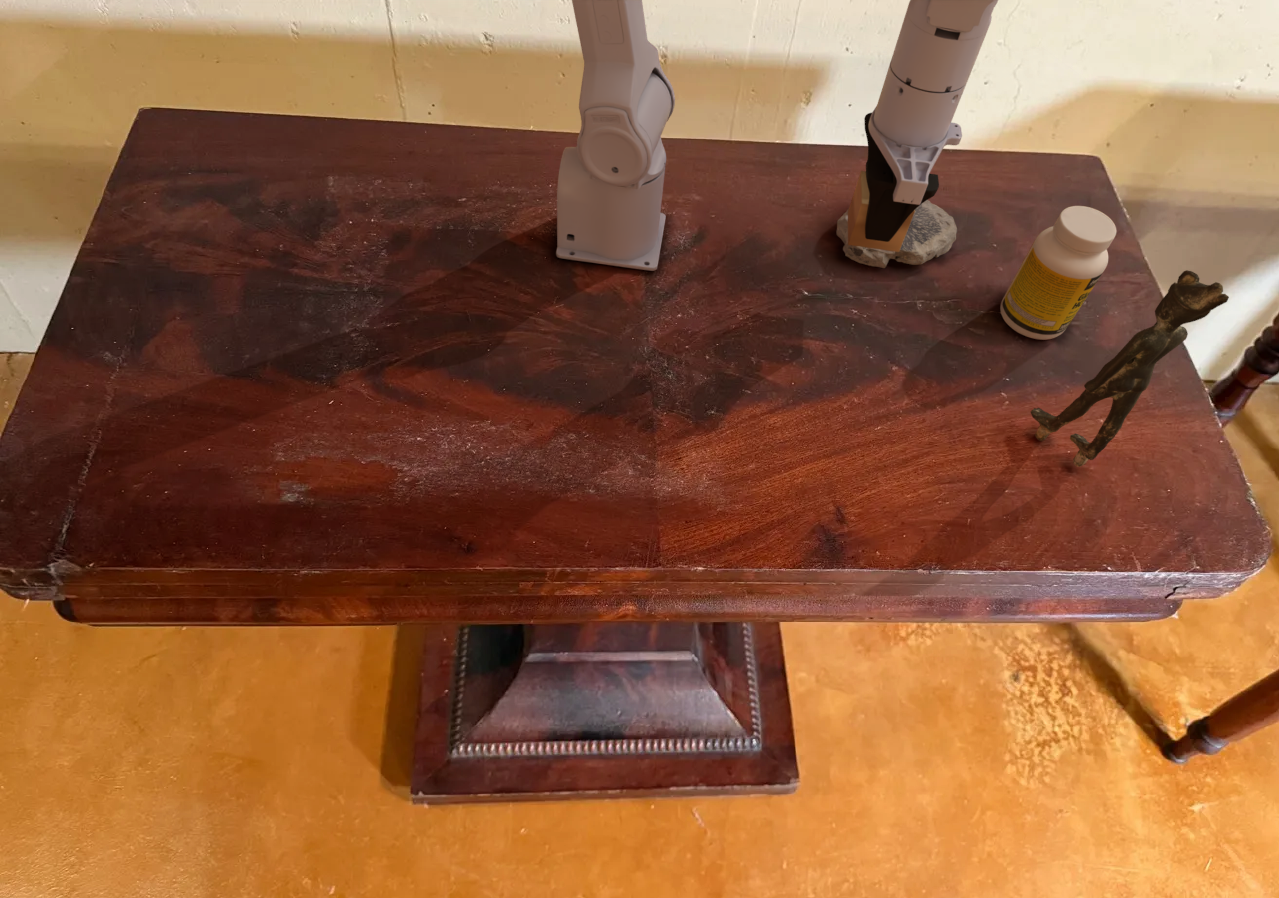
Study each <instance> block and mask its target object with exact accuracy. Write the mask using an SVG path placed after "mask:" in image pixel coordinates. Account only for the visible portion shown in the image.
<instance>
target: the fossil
mask: <svg viewBox="0 0 1279 898" xmlns="http://www.w3.org/2000/svg"><path fill="white" fill-rule="evenodd" d="M848 210H849V207H848V208H847V210H846V211H845V212H844V213H843V215H842V216H840V217H839V218H838V219H837V221H836V236H837V237H838V238H839V239H840V240H841V242H843V244H844V245H843V247H842V251H843V252H844V254H845V257H847V258H849V259H850V260H852V261H855V262H857V263H858V264H861V265H862V264H863V265H866V266H870V267H877V268H882V269H885V268H886V267H887V265H888V263H889V261H890V260H895V261H896V262H897V263H903V264H907V265H908V264H909V265H913V266H918V265H923V264H925V263H926V262H928V261H930V260H932V259H933V258H939V257H940V256H943V255H945V254H946V253H948V252H949V251H950V249H951V248H952V247H953V243H955V242H956V240H957V233H958V228H957V225H956V222H955V219H954V217H953V216H952V215H949V213H948V212H947V211H945V209H943V208H941V207H940V206H938V205H937V204H934V203H932V202H931V201H930V200H929V199H928V200H926V201H925V202H923V203H922V204H921V205H920V206H918V207H917V208H916V209H915V213H914V215H913V218H912V220H911V223H910V225H909V228H908V231H907V233H906V236H905V238H904V241H903V243H902V246H901V248H900V251H899V252H895V251H888V250H881V249H874V248H867V247H860V246H853V245H848Z"/></svg>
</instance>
